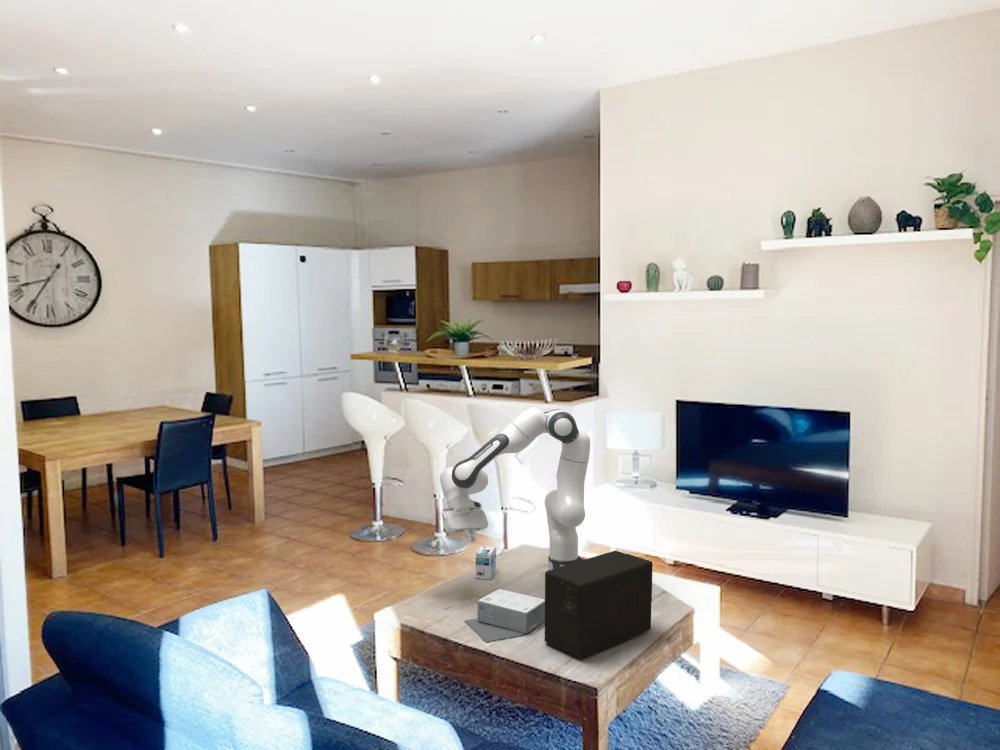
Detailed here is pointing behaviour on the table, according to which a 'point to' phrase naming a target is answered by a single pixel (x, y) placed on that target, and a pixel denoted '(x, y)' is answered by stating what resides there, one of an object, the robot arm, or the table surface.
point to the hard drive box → (511, 610)
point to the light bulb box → (485, 562)
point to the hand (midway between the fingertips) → (472, 541)
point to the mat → (491, 631)
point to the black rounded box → (597, 602)
